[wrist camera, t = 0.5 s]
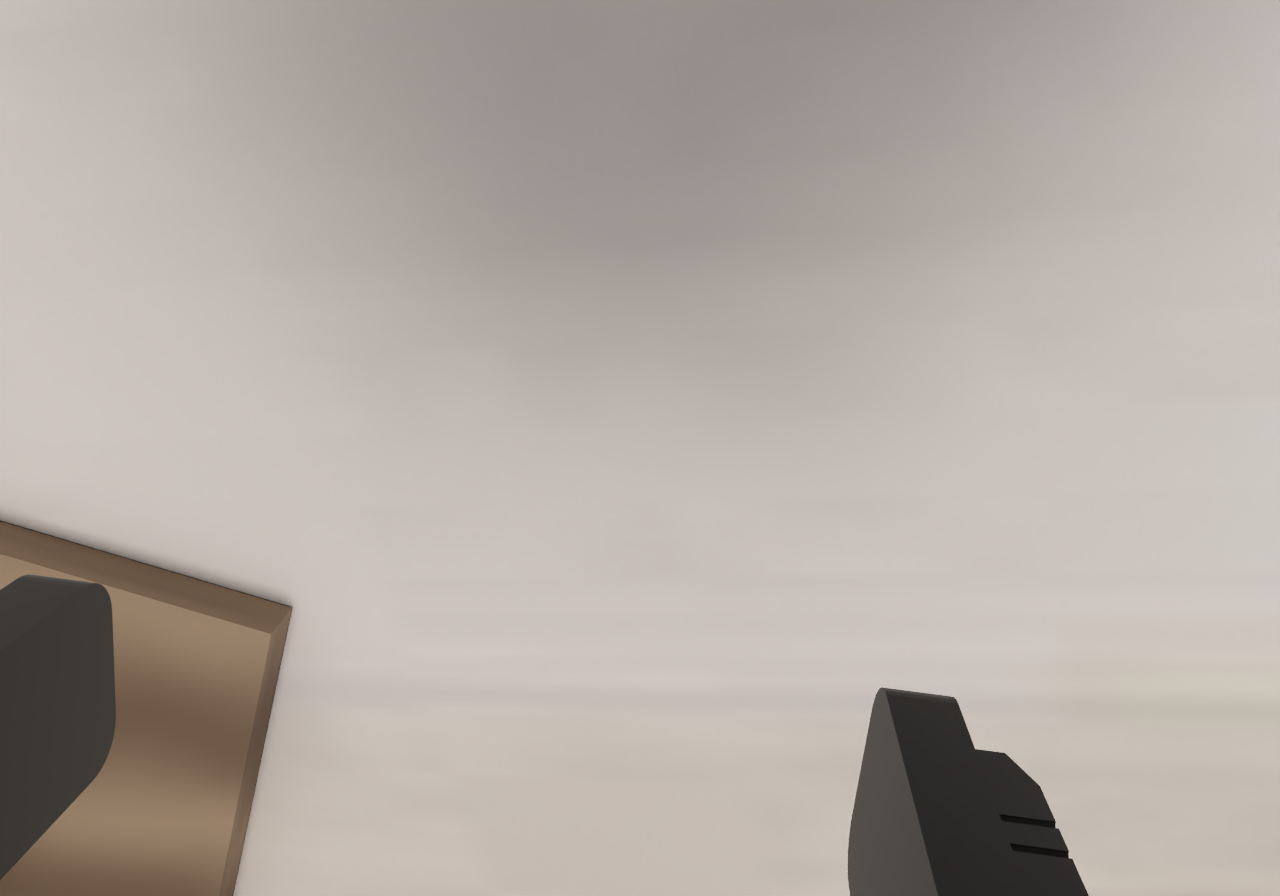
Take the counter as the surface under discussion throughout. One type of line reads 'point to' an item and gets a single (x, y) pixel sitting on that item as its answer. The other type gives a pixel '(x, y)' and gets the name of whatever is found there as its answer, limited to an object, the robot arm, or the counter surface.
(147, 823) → the socket base
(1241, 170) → the counter surface
